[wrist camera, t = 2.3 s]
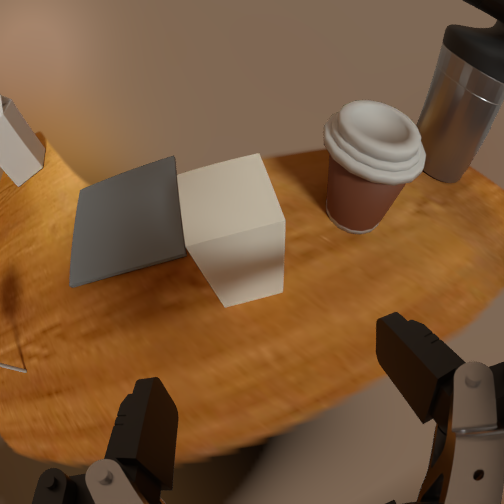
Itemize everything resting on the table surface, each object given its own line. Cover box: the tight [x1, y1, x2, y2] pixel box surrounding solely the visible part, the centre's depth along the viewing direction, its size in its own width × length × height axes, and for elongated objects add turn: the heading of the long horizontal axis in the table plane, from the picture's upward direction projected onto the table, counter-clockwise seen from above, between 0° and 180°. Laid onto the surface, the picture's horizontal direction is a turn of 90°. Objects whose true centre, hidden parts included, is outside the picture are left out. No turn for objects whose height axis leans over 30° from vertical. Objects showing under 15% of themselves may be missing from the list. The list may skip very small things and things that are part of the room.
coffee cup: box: [323, 100, 426, 234], centre depth 24 cm, size 9×9×12 cm
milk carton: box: [0, 95, 45, 187], centre depth 32 cm, size 7×7×19 cm
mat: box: [69, 156, 187, 288], centre depth 31 cm, size 15×15×1 cm
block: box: [177, 153, 285, 307], centre depth 21 cm, size 6×6×12 cm
